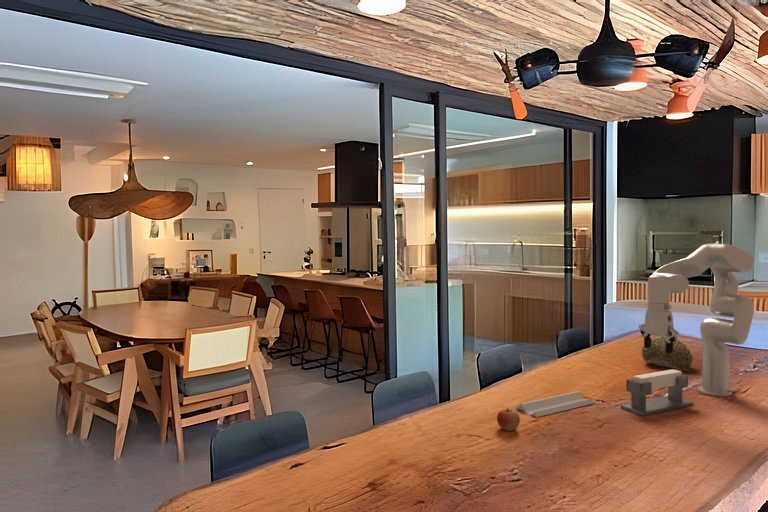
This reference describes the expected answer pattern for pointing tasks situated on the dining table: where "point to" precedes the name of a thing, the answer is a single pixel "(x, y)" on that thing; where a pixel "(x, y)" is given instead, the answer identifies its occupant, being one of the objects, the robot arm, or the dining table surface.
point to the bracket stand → (655, 404)
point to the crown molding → (554, 404)
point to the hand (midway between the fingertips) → (658, 350)
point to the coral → (668, 354)
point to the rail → (659, 378)
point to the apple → (508, 419)
